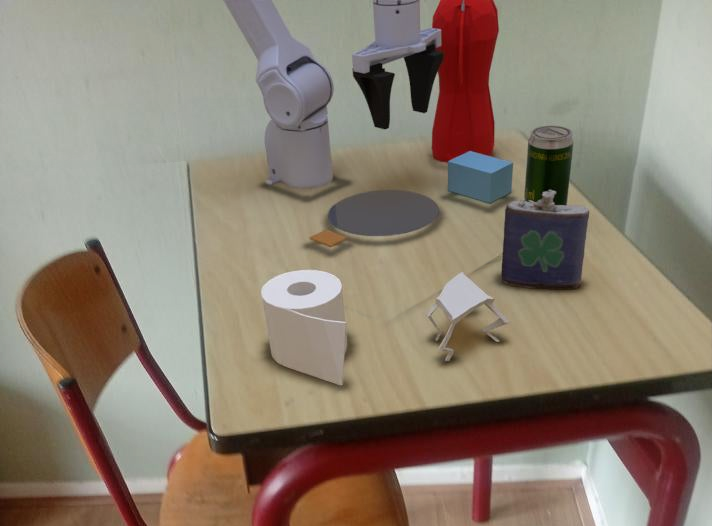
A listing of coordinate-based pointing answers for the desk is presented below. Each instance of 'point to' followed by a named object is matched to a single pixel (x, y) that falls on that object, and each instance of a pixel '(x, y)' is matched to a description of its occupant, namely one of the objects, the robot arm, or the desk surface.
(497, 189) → the sponge
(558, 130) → the beer can
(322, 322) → the toilet paper
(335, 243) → the orange cardboard box
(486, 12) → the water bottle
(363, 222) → the plate
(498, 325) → the origami figure
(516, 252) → the flask
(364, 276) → the desk surface
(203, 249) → the desk surface
